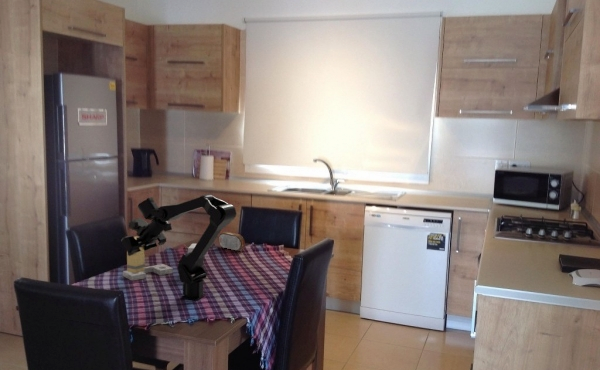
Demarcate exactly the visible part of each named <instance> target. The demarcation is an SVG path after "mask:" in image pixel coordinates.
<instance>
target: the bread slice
mask: <svg viewBox="0 0 600 370" xmlns="http://www.w3.org/2000/svg"><path fill="white" fill-rule="evenodd" d="M218 244H219V246H220V247H221V248H222V249H224V248H227V249H226V250H228V249H231V250H230V251H233V250H235V251H234V252H239V251H242V250H244V248H245V245H246V242H245V238H244V237H243V236H242V235H241V234H239V233H237V232H236V233H234V232H230V231H224V232H220V233H219V234H218Z"/></svg>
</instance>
